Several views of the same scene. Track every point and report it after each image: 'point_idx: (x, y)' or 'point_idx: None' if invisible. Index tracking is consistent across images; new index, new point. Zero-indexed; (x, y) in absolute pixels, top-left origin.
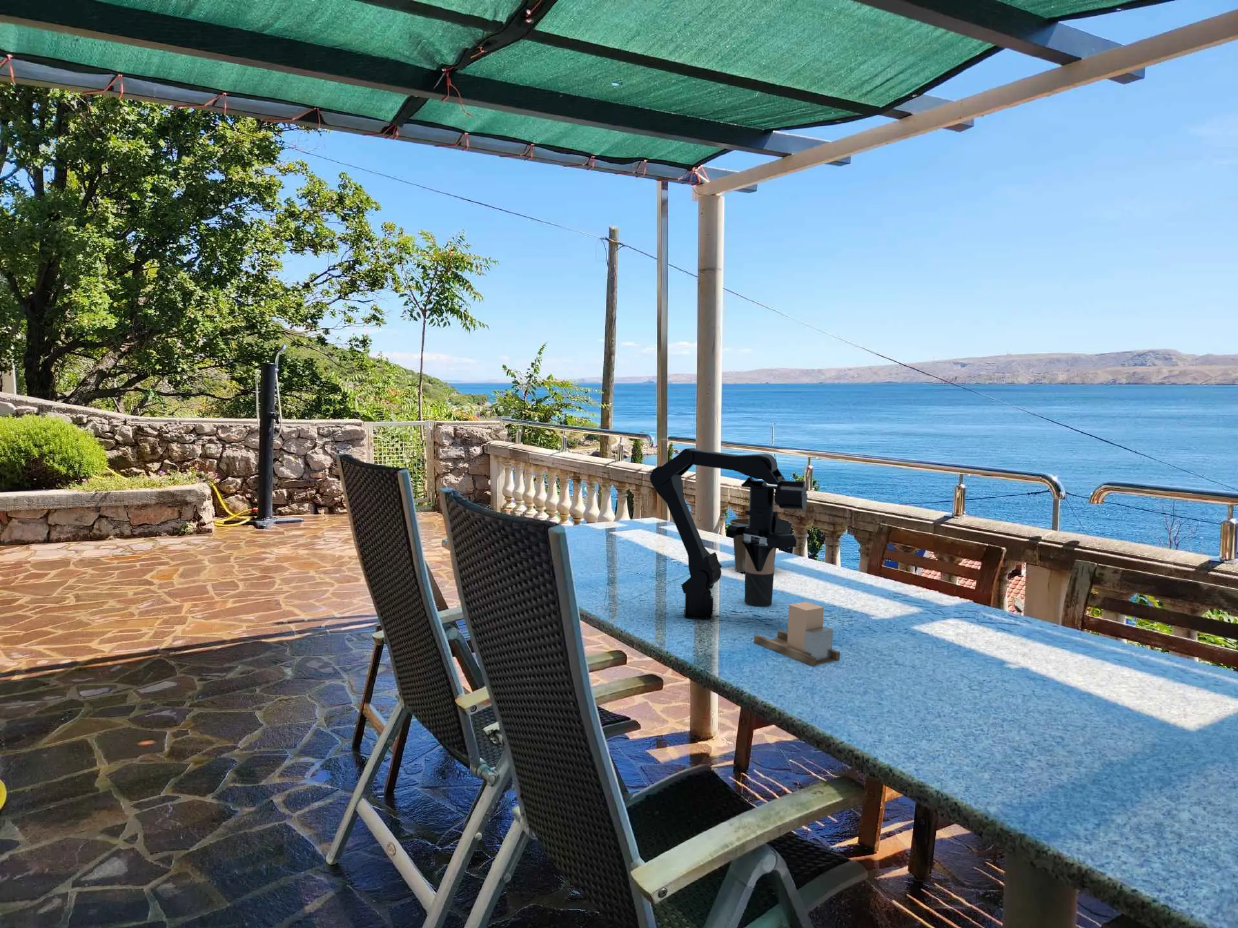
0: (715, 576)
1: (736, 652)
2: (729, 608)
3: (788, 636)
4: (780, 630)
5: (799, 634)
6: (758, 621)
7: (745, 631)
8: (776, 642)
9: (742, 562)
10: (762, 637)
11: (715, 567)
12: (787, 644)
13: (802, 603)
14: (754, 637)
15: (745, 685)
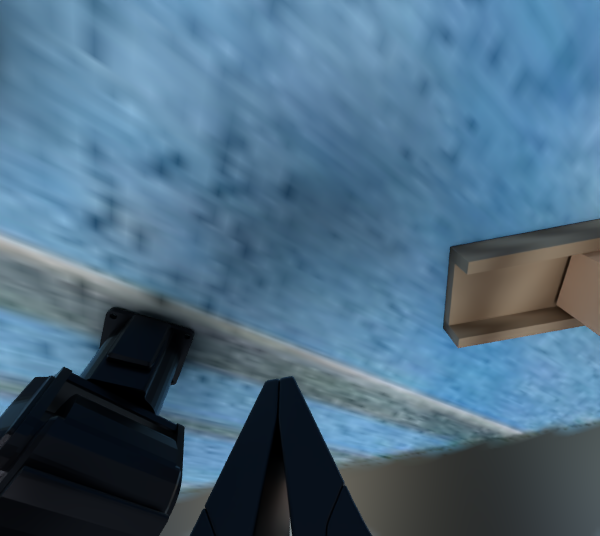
0: (144, 465)
1: (453, 373)
2: (49, 218)
3: (596, 330)
4: (469, 264)
5: None
6: (246, 202)
7: (333, 294)
8: (536, 327)
9: None
10: (484, 338)
11: (112, 518)
12: (572, 315)
13: None
14: (456, 343)
15: (578, 415)
